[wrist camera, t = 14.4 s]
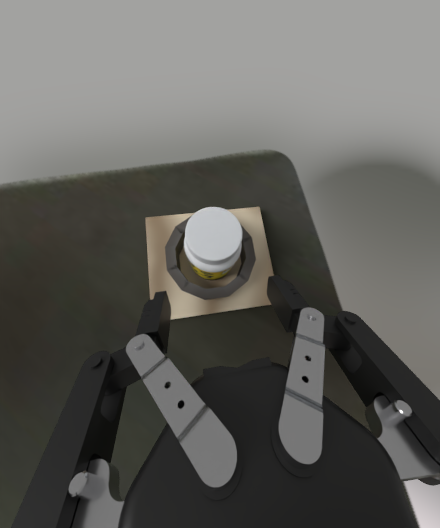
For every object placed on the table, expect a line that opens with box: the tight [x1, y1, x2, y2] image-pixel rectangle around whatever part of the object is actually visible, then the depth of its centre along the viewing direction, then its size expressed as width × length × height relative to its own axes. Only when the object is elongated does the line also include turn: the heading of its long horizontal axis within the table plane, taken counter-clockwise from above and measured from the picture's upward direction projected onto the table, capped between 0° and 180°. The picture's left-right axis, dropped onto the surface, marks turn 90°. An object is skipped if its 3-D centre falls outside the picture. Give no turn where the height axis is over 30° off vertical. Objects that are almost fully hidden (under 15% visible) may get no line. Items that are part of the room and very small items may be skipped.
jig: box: [146, 207, 274, 320], centre depth 20 cm, size 14×12×4 cm
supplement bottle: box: [184, 207, 242, 280], centre depth 16 cm, size 5×5×8 cm
